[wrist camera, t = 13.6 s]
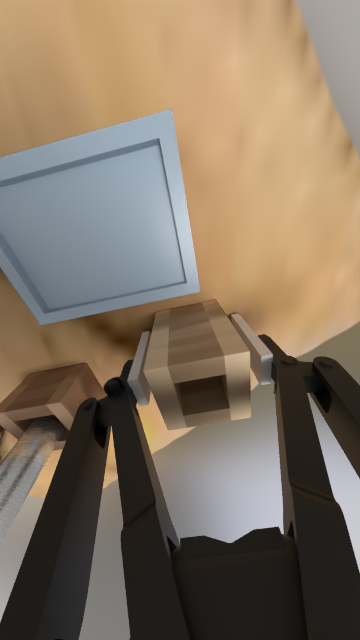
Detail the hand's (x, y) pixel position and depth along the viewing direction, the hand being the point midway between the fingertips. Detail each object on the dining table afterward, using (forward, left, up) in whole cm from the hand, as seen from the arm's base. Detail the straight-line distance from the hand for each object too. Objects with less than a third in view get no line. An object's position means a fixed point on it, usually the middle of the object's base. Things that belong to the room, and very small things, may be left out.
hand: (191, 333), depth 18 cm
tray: (-10, -6, 0) cm, 12 cm away
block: (0, 0, 0) cm, 0 cm away
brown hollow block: (+5, -16, 0) cm, 17 cm away
